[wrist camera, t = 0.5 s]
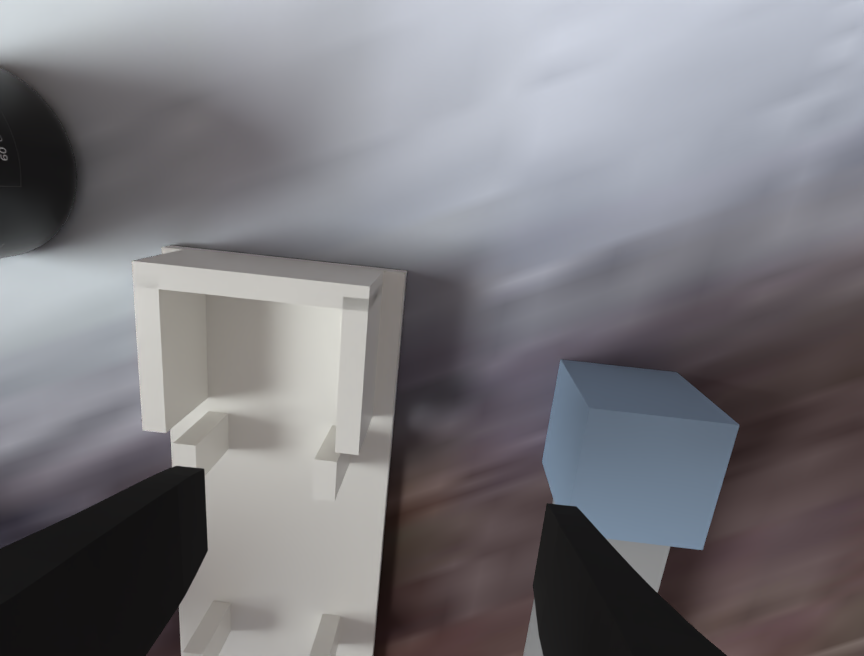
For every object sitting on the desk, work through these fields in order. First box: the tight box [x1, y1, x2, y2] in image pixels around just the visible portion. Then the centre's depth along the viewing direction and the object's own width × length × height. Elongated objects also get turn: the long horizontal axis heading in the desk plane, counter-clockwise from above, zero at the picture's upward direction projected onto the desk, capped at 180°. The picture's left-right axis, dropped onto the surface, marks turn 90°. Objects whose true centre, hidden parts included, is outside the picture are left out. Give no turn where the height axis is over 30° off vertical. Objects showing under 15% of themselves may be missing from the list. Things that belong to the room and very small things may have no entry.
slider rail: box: [132, 245, 407, 656], centre depth 20 cm, size 21×9×4 cm, turn 174°
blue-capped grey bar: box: [523, 359, 740, 656], centre depth 20 cm, size 18×4×4 cm, turn 174°
